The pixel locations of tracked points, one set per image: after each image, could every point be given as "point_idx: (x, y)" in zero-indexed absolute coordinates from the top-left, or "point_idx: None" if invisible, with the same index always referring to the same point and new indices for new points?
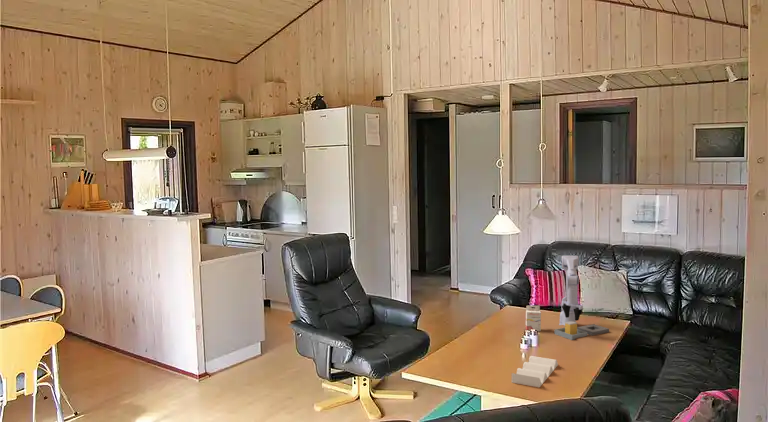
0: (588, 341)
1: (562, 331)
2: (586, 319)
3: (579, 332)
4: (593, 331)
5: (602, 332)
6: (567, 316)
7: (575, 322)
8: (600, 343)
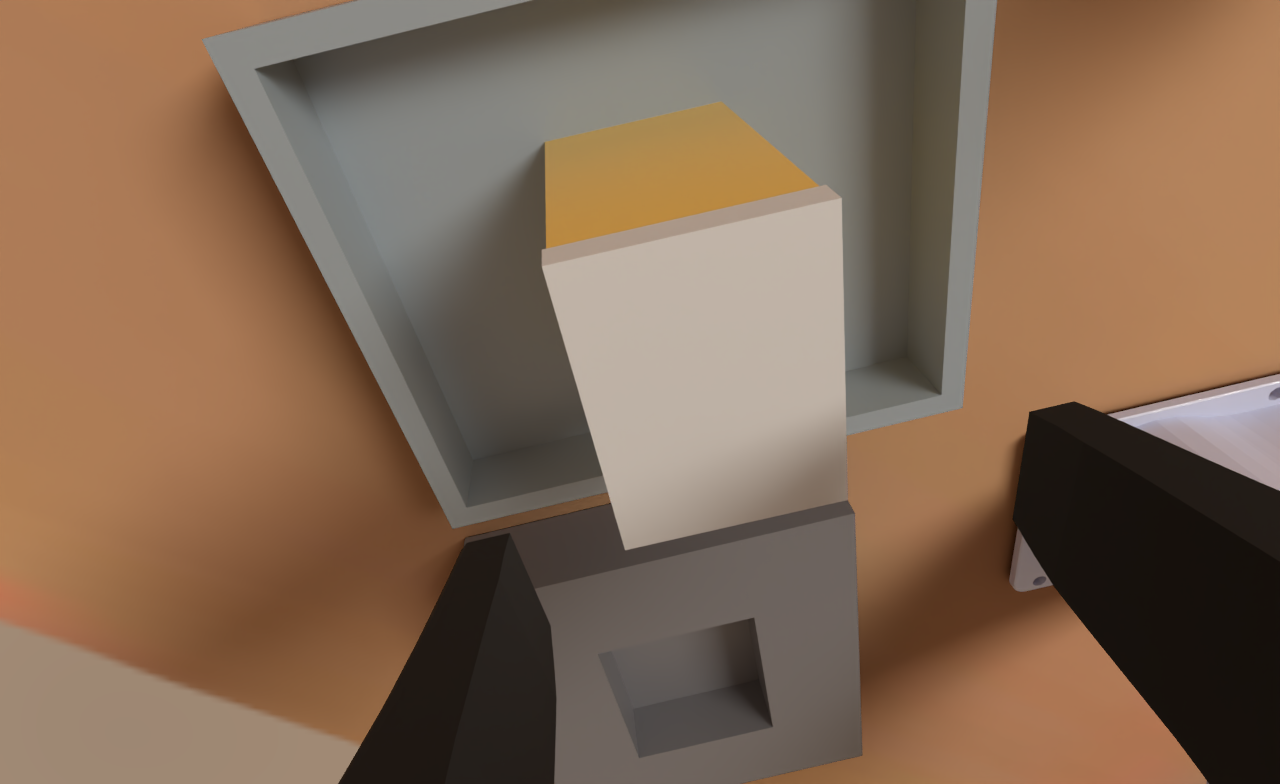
0: (146, 353)
1: (914, 159)
2: (1161, 745)
3: None
4: None
5: None
6: (1048, 490)
7: (655, 513)
8: (5, 490)
